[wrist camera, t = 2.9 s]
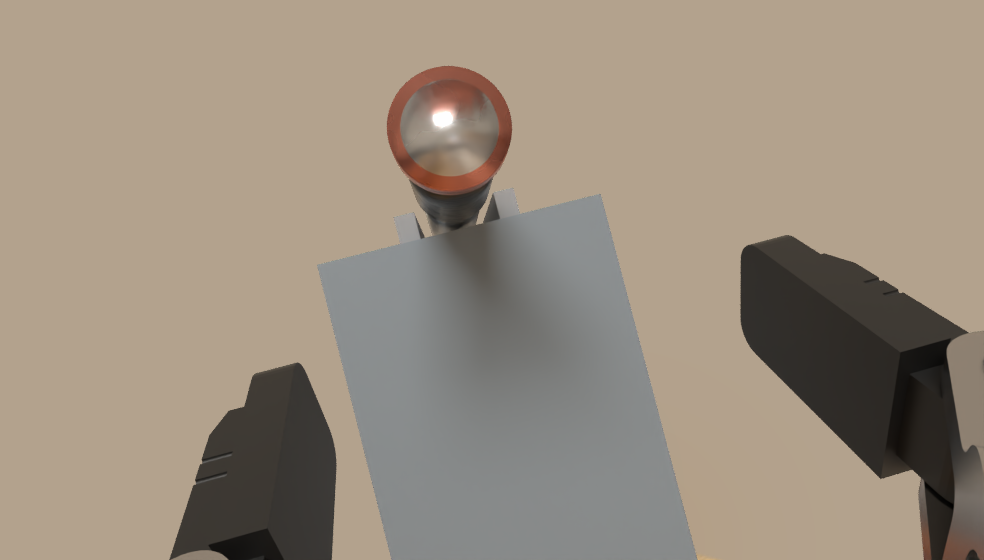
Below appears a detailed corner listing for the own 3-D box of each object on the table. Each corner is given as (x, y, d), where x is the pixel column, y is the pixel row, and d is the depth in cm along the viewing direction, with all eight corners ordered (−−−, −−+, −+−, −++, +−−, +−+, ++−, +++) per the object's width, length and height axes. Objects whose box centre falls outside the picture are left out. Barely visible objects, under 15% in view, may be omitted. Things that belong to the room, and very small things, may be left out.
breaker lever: (525, 172, 19) (494, 53, 19) (404, 202, 19) (373, 82, 19) (485, 247, 44) (472, 196, 44) (433, 261, 44) (419, 208, 44)
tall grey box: (772, 844, 30) (592, 166, 30) (487, 939, 29) (309, 236, 30) (681, 689, 42) (554, 205, 42) (477, 752, 41) (351, 256, 42)
